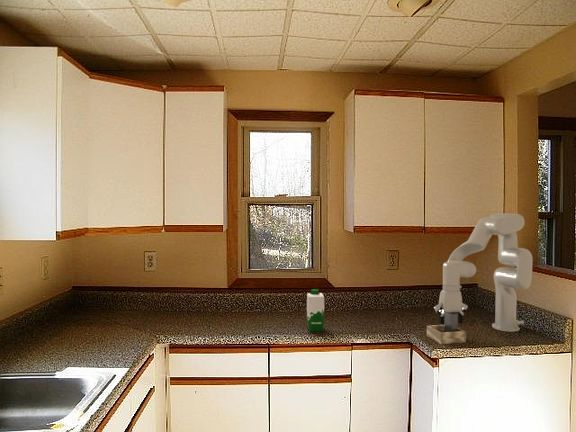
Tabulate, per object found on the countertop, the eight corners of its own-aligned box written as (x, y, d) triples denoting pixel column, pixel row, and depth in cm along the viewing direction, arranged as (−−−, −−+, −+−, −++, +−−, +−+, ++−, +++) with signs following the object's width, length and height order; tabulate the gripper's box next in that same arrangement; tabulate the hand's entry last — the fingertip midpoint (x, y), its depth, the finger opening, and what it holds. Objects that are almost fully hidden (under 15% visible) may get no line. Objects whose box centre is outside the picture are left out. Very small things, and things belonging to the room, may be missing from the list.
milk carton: (322, 326, 211) (322, 288, 211) (325, 331, 202) (325, 292, 202) (306, 326, 210) (306, 289, 210) (308, 332, 201) (308, 292, 201)
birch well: (450, 334, 198) (450, 324, 198) (465, 342, 186) (466, 331, 186) (426, 335, 195) (426, 325, 195) (440, 344, 184) (440, 333, 184)
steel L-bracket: (449, 335, 195) (450, 310, 194) (457, 339, 189) (457, 314, 188) (435, 336, 193) (435, 311, 193) (442, 340, 187) (442, 315, 187)
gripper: (462, 285, 196) (461, 320, 197) (430, 287, 193) (430, 322, 193) (472, 288, 189) (471, 324, 189) (439, 290, 185) (438, 327, 186)
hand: (450, 323), depth 191 cm, fingers open, 9 cm apart
